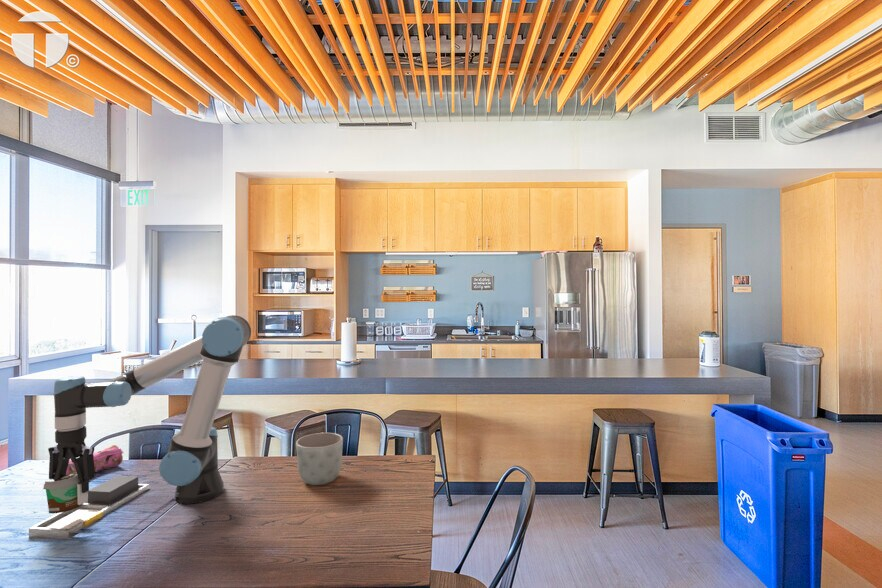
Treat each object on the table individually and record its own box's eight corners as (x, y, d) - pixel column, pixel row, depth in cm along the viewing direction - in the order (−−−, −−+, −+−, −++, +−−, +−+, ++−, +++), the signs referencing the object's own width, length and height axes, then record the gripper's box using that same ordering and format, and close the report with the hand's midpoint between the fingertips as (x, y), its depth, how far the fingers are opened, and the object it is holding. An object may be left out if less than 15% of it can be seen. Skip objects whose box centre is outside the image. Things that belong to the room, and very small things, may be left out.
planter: (353, 477, 174) (352, 437, 174) (319, 494, 160) (318, 451, 160) (321, 467, 183) (320, 429, 183) (286, 483, 169) (285, 442, 169)
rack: (150, 491, 164) (150, 483, 164) (70, 539, 133) (69, 530, 133) (116, 489, 166) (116, 482, 166) (29, 536, 135) (28, 527, 135)
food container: (60, 517, 135) (60, 483, 135) (43, 515, 136) (43, 482, 136) (99, 498, 147) (98, 467, 147) (83, 496, 149) (83, 466, 148)
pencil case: (63, 488, 168) (62, 464, 168) (50, 483, 172) (49, 460, 172) (125, 467, 187) (125, 445, 187) (113, 463, 191) (112, 442, 191)
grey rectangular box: (138, 490, 162) (138, 476, 162) (109, 507, 151) (109, 492, 150) (118, 489, 163) (117, 475, 163) (88, 505, 152) (87, 490, 151)
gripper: (109, 424, 144) (111, 498, 144) (54, 422, 146) (56, 494, 147) (88, 432, 136) (89, 509, 137) (31, 430, 139) (33, 506, 139)
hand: (72, 502), depth 142 cm, fingers closed on food container, 6 cm apart
